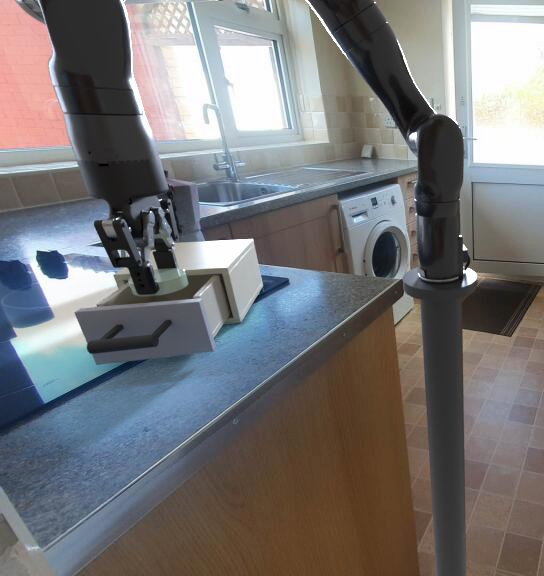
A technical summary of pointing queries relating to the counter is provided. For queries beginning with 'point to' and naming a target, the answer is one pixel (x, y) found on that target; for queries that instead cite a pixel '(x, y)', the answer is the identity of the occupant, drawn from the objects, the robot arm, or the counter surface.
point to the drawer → (156, 322)
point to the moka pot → (184, 209)
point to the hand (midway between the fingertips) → (160, 283)
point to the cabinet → (218, 270)
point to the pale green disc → (166, 281)
